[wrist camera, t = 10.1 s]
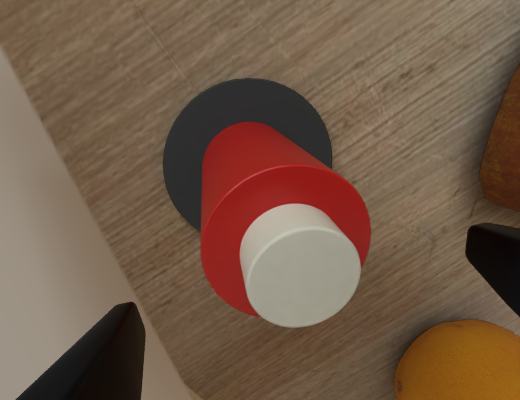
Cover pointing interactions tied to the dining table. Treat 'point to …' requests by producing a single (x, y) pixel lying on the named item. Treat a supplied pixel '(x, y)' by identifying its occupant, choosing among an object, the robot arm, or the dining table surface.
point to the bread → (504, 151)
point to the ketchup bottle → (279, 228)
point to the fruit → (461, 363)
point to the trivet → (229, 113)
